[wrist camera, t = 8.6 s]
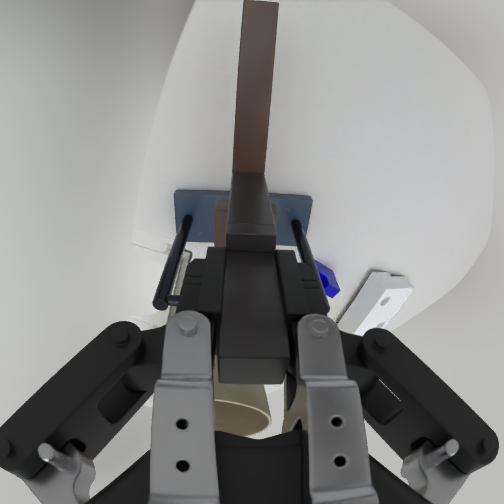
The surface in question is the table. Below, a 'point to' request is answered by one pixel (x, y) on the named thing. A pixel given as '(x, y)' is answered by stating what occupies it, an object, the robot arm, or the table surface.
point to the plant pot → (240, 407)
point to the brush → (251, 222)
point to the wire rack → (202, 230)
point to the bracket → (375, 303)
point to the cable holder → (327, 280)
